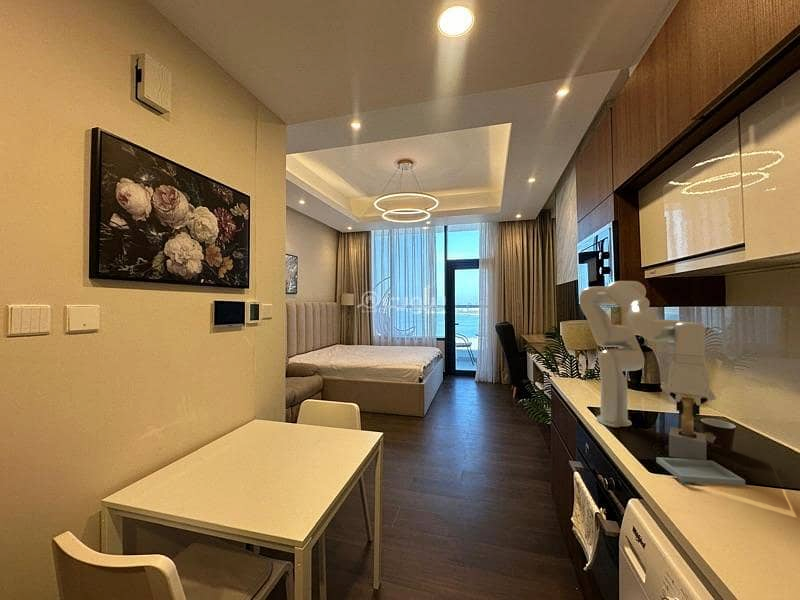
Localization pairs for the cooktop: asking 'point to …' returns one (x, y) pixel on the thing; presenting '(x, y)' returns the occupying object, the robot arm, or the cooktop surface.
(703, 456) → the grey notched box
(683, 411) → the brown upright block
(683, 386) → the robot arm
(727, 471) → the slate tray
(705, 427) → the coffee mug
